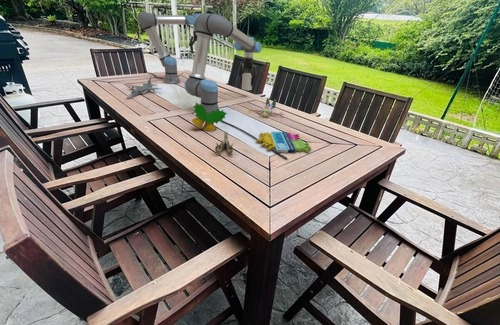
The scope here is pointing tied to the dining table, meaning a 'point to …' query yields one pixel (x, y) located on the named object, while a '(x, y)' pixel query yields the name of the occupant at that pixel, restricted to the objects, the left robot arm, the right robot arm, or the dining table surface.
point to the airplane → (142, 88)
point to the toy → (267, 109)
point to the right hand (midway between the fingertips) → (247, 84)
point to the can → (246, 81)
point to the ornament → (207, 117)
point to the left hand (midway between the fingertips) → (197, 53)
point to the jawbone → (224, 145)
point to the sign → (283, 142)
